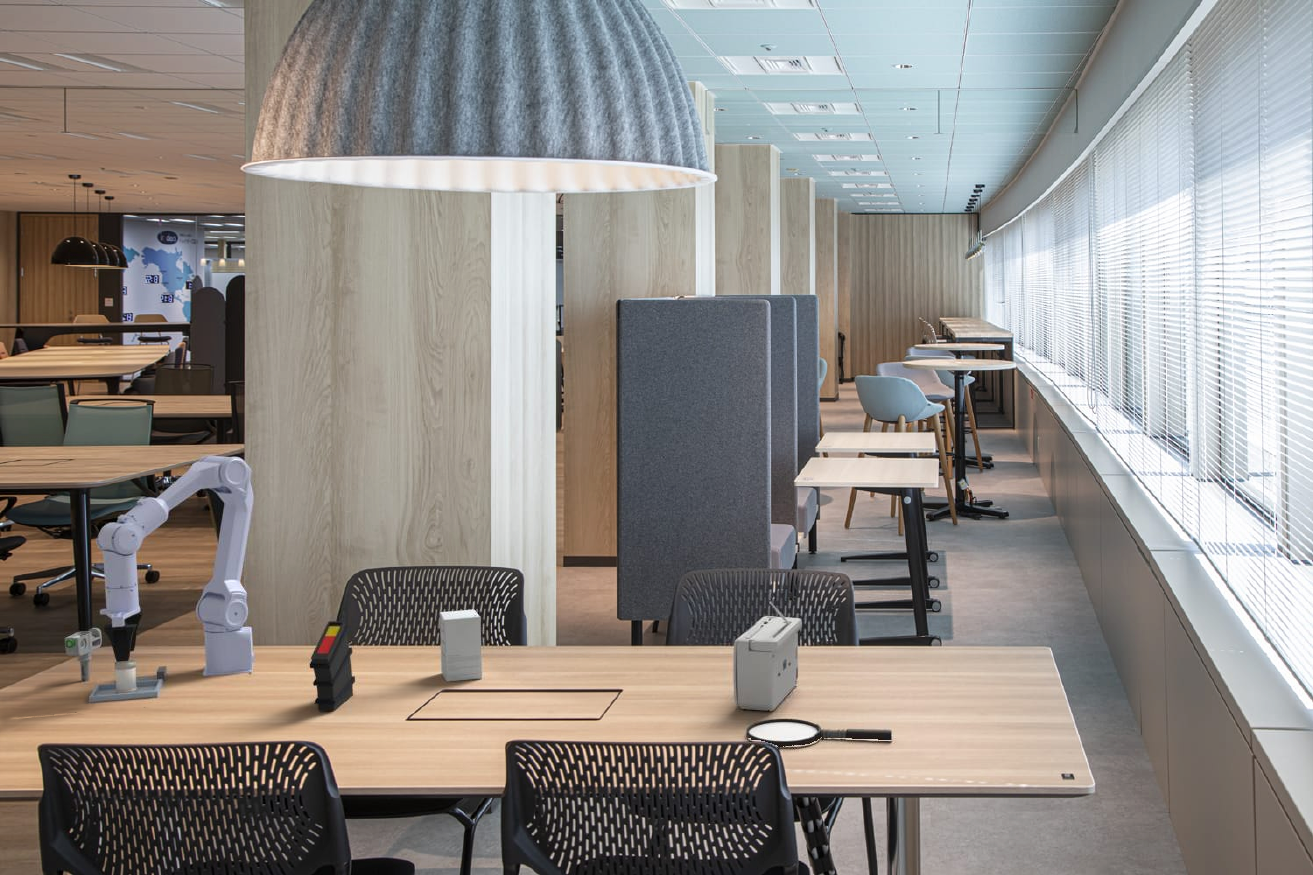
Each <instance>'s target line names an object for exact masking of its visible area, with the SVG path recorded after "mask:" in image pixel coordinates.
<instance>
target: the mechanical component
mask: <svg viewBox="0 0 1313 875" xmlns="http://www.w3.org/2000/svg"><path fill="white" fill-rule="evenodd" d="M102 643H103V640H102V631H101V629H100V628H98V627H92V628H90V629H88V630H87V631H85V630H84V631H78V632H75V633H73V634H71V635H69V636H67V637H64V646H65V654H66V655H67V656H77V659H76V660H77V661H78V662H79V664H80V680H81V682H84V681H85V682H90V680H91V678H90V677H91V676H90V674H91V673H90V661H91V660H92V654H91V653H92V652H93V651H95V650H97V649H99V648H100V647H101V646H102Z"/></svg>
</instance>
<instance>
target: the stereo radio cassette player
mask: <svg viewBox="0 0 1313 875" xmlns="http://www.w3.org/2000/svg"><path fill="white" fill-rule="evenodd" d="M768 603H769V605H771V606H772V608H773V609H774V611H775V612H776V613H777V614H778V615H779V616H771V615H770V616H769V615H765V616H763V617H761V618H759V620H758V621H757V622H755V623H754V624H753V625H752V626H751V627H749V629H746V631H745V632H744V633H742V634H741V635H740V636H739V637H738V638H736V639H735V641H734V645H733V663H732V664H733V665H732V666H733V668H732V670H733V672H732V673H733V674H732V676H733V678H732V679H733V680H732V681H733V695H734V697H733V698H734V704H735V706H739V708H740V709H742V710H743V709H746V710H756V711H768V710H770V711H772V712H773V711H775V710H776V708H777V707H778V706H779V705H780V703H782V701H783V700H784V699H785V698H786V697H787V696H788V695H789V693H790V692H792V690H793V689H794V688H795V687H797V684H798V677H799V656H798V655H799V653H798V652H799V651H798V650H799V649H798V648H799V645H798V644H799V641H798V640H799V639H798V636H799V634H798V633H799V630H801V629H802V625H803V623H802V622H803V621H802V619H801V618H798V617H788V616H785V615H783V613H782V612H780V610H779V609H778V608H777V607H776V606H775V605H774V604H773V601H769V602H768ZM770 711H769V712H770Z"/></svg>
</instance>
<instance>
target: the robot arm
mask: <svg viewBox="0 0 1313 875" xmlns="http://www.w3.org/2000/svg"><path fill="white" fill-rule="evenodd" d="M252 472H253V470H252V469H251V468H250V466H249V465H248V464H247V463H246V461H245V460H244V459H243V458H241V457H238V456H231V457H230V456H222V455H221V456H219V455H213V454H208V455H204V456H203V457H201V458H200V459H199V460H198V461H195V462H193V463H192V465H191V466H190V468H189V469H188V470H187V471H186V472H185V473H184V474H183V475H182V476H180V477H179V478H178V479H177V480H175V481H174V482H173V483H172V484H171V485H170V486H169V487H168V488H167V489H165V490H164V491H163V492H161V494H159V496H157V497H146V498H140V499H139V500H137V501H136V504H137V505H135V506H134V507H133V508H132V509H130V510H129V511H128V512H126V513H125V514H120V515H119V516H118V517H117V521H116V522H108V523H106V524H105V525H104V526H102V527H101V529H100V532H98V536H97V538H95V543H96V546H97V547H98V549H100V551H101V552H102V560H103V568H104V586H105V588H104V589H105V601H106V602H105V606H106V608H102V609H100V610H99V615H106V616H108V618H110V619H111V624H110V623H109V624H104V625H103V632H104V633H105V634H106V636H107V637H108V640H109V642H110V645H111V649H112V651H113V655H114V658H115V660H116V661H115V662H122V661H128V660H130V656H131V652H134V651H135V648H136V642H137V641H136V640H137V633H138V628H139V625H140V622H141V619H142V617H143V614H144V613H143V612H142V611H141V606H140V602H139V601H140V598H139V584H138V583H139V582H138V580H139V579H138V566H137V565H138V564H137V563H138V562H137V561H138V560H137V551H138V550H139V549H140V548H141V545H142V544H143V540H144V539H145V538H146V537H147V536H148V535H150V534H151V533H153V532H154V531H155V530H156V529H158V528H159V527H160V526H161V525H162V524H164V523H166V522H167V520H168V518H169V512H170V511H171V510H172V509H174V508H175V507H177V506H178V505H179V504H181V503H182V502H184V501H185V500H186V499H188V498H190V497H191V496H192V495H194V494H195V493H197V492H198V491H200V490H201V489H203V490H204V489H209V490H212V491H213V492H214V493H216V494H217V496H218V497H219V499H221V501H222V502H223V503H224V506H223V511H222V517H221V518H222V519H221V524H220V529H219V530H220V531H219V537H218V541H217V542H218V543H217V549H216V554H215V560H214V566H213V571H212V572H213V573H212V578H211V580H210V581H209V582H208V583H207V584H205V586H204V587H203V591H202V594H201V597H200V599H199V600H198V602H197V604H196V607H195V613H196V617H197V619H198V620H199V621H200V623H202V628H203V635H204V637H203V638H204V655H205V657H204V658H205V665H204V669H203V672H202V676H203V677H207V676H208V677H209V676H210V677H211V676H219V675H236V674H247V673H249V674H252V673H253V668H254V663H255V653H254V649H253V648H254V646H253V631H252V630H253V628H252V627H251V626H244V624H245V622H246V621H247V619H248V615H249V608H248V604H247V597H248V593H247V591H246V589H245V588H244V587H243V585H242V583H241V580H242V574H243V569H244V568H243V567H244V560H245V555H246V550H247V542H248V537H249V531H250V530H249V529H250V526H251V525H250V524H251V518H252V511H253V506H254V498H255V497H254V492H253V488H252V484H251V483H252V482H251V476H252Z"/></svg>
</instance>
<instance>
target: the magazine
mask: <svg viewBox="0 0 1313 875" xmlns="http://www.w3.org/2000/svg"><path fill="white" fill-rule="evenodd" d="M348 631H349V625H348V624H347V625H346V624H345V621H341V620H339V621H338V620H336V621H335V620H334V621H333V620H331V621H327V624H326V626H325V628H324V630H323V632H322V634H321V636H320V637H319V640H318V642H317V644H316V647H315V648H314V650H313V652H312V654H311V657H310V659H311V660H310V663H309V669H313V672H314V677H315V679H314V681H313V682H312V684H313V687H314V686H315V687H316V695H317V697H316V699H314V704H315V705H317V710H318V712H335V711H336V710H337V709H338V708H339V707H341V706H343V704H344V703H346V702H347V701H348V700H350V698H351V697H352V696H353V695H354V693H353V692H354V691H353V690H354V689H353V686H354V684H355V683H356V676H354V675H353V670H352V660H351V656H352V654H353V653H354V652H353V648H352V647H350V645H349V638H348V634H347V633H348Z"/></svg>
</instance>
